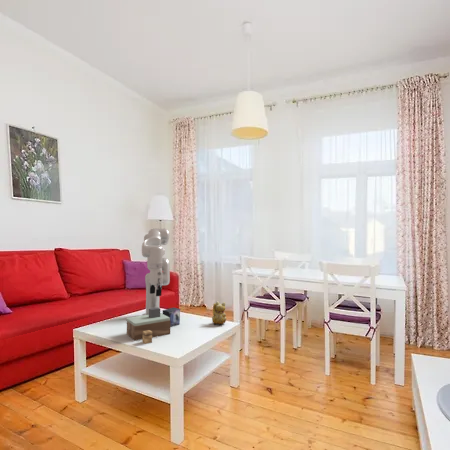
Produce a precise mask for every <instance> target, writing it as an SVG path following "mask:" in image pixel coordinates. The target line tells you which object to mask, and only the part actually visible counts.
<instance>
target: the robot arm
mask: <svg viewBox="0 0 450 450" xmlns="http://www.w3.org/2000/svg"><path fill="white" fill-rule="evenodd" d="M169 239H170V232H169V230H168V229H167V228H159V227H158V228H151V229H149V231H148V233H147V234H145V235H144V236H143V242H142V245H141V256H142V257H143V258H147V259H146V261H147V262H146V265H147V266H146V267H147V269H148V270H149V272H148V273H146V275H145V277H144V279H145V313H144V314H143V315H149V309H150V308H160V297H161V296H162V291H163V290H162V289H163V288H162V287H163V286H168V285H169V284H170V282H171V280H170V279H171V278H170V277H171V276H170V275H171V273H170V268H171V267H170V260H169V258H167V257H164V255H165V252H166V249H165V248H164V246H166V245H167V244H168V243H169Z"/></svg>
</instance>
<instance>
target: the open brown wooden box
mask: <svg viewBox="0 0 450 450" xmlns="http://www.w3.org/2000/svg"><path fill="white" fill-rule="evenodd" d="M170 322H171V321H170V320H168V321H163V322H157V323H151V324H145V325H139V326H134V325H132V324H131V323H129V322H128V321H126V335H127V336H128V337H130V338H131V339H132V340H133V341H142V338H143V334H142V333H143V331H146V330H150V331H152V338H155V337H162V336H167V335H171V327H170Z"/></svg>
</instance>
